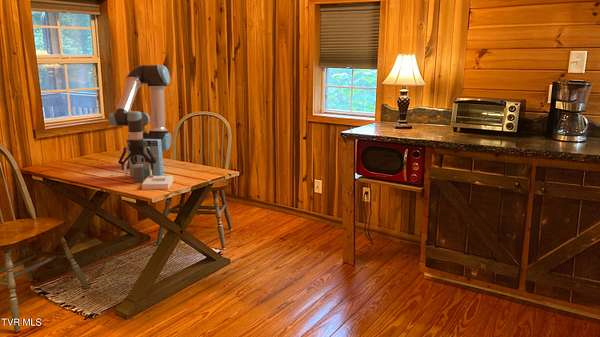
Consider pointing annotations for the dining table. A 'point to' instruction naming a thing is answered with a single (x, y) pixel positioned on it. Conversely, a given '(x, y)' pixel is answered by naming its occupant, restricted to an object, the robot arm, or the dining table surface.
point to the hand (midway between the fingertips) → (138, 175)
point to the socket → (157, 182)
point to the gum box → (156, 152)
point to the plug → (138, 173)
